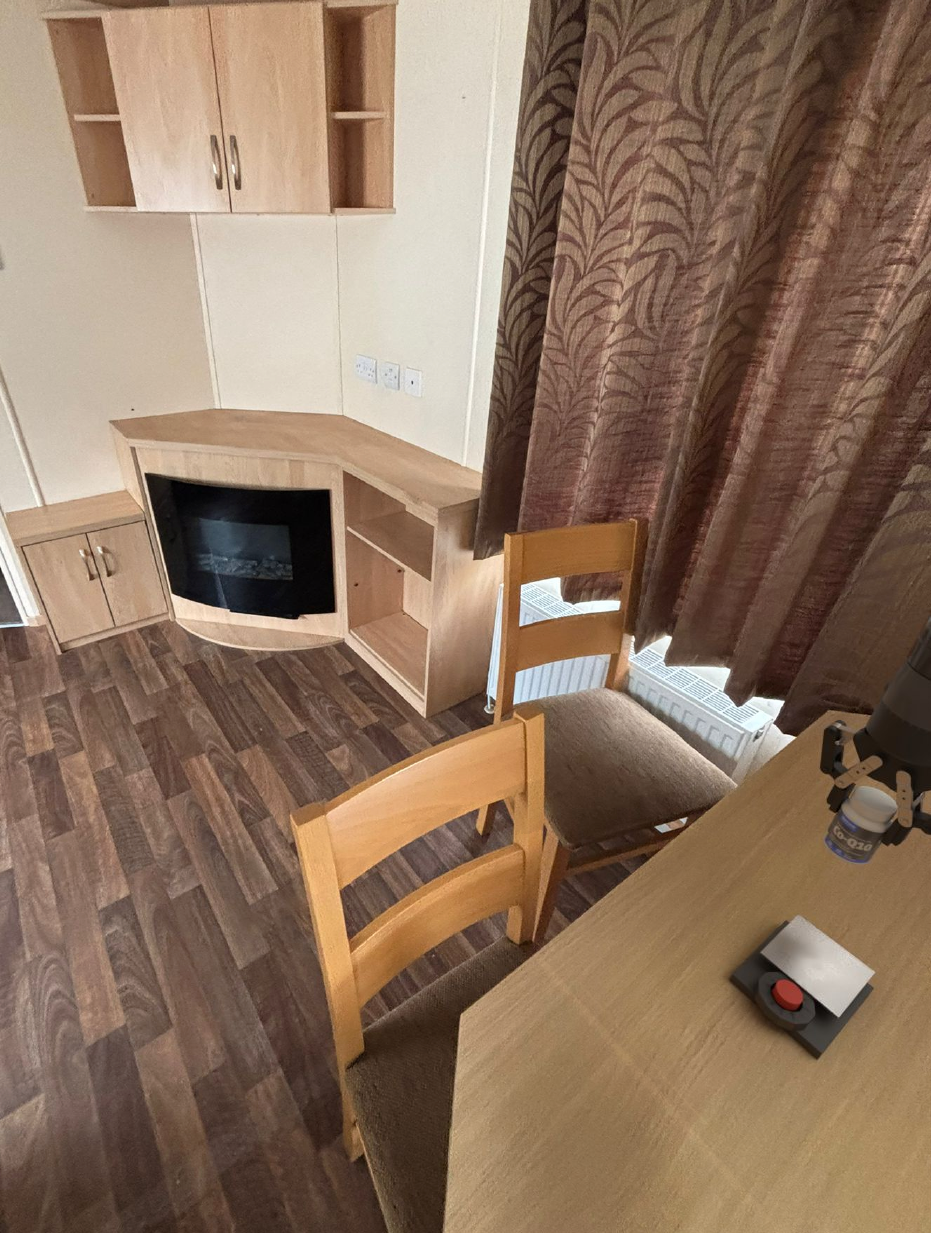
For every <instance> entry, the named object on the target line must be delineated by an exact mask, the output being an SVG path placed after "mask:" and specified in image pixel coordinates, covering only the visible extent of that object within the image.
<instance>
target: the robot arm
mask: <svg viewBox="0 0 931 1233" xmlns="http://www.w3.org/2000/svg"><path fill="white" fill-rule="evenodd" d="M822 734H823V735H822V744H821V752H820V763H819V770H820V772H821V773H823V774H824V775H829V776H830V777H831V778H832V779H833V781H834V783H833V785H832V788H831V789H830V791H829V793H828V795H827V797H826V804H827V805H829V807H828V810H829V811H830V812H832V813H833V814H836V813H837V811H838V810H839V808H840V806H841V804H842V803H843V801H844V800H845V799H847V798H850V797H851V795H852V793H853V792H854V790H855V788H856V785H857V784H856V783H855V782H857V781H859V780H860V779H862V778H864V777H865V776H866V777H868V778H870V779H871V780H873V781H876V782H879V783H881V784H883V785H884V786H886V787H887V788H888V789H890V790H891V791H892V792H894V793H896V796H895V797H896V798H895V800H896V801H895V802H896V805H897V807H898V809H897V817H896V818H895V819H893V820H892V821H893V823H892V825H891V826H890V828H889V829H888V831H887V833H886V834H885V836H884V837H883V839H882V840H881V844H883V845H884V846H885V847H887V848H889V846H890V845H893V846H895V847H897V846H899V845H901V844H902V843H903V842H904V841H905V840H906V839H907V838H908V836H909V835H910V833H911V832H912V830H913V829H918V830H920V831H921V832H922V833H923V834H925V835H928V836H931V813H927V812H924V811H923V807H924V806H923V805H924V799H925V797H926V792H930V791H931V613H930V614H929V615H928V616H927V618H926V619H925V621H924V623H923V625H922V626H921V628H920V630H919V632H918V634H917V636H916V637H915V640H914V642H913V644H912V646H911V647H910V649H909V651H908V653H907V655H906V656H905V658H904V659H903V661H902V662H901V663H900V664H899V665H898V666H897V668H896V670H894V672H893V673H892V675H891V677H890V679H889V680H888V681H887V682H886V684H885V686H884V688H883V692H882V694H881V696H880V699H879V700H878V702H877V703H876V705H875V707H874V709H873V711H872V713H871V715H870V717H869V719H868V721H867V723H866V724H865V726H864V727H862V728H861V729H859V730H858V729H856V728H853V727H850V726H848V725H847V723H846V722H845V721H844V720H841V719H837V720H835V721H834V722H832V723H830V724H829V725H828V726H826V727H825V728H824V729H823V733H822ZM851 741H852V742H853V745H854V748H855V751H856V754H857V757H858V760H859V761H858V762H857V763H855V764H854V765H852V766H851V767H849V768H848V767H846V766H845V765H844V764H843V763H844V754H845V746H846V745H848V744H849V743H851Z"/></svg>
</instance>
